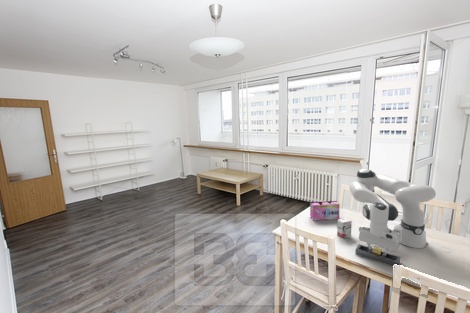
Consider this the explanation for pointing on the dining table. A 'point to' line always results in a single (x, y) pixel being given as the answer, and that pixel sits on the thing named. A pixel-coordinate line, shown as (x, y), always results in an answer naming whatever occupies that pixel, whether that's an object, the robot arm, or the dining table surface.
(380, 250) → the brushed brass bar
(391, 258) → the grey compartment tray
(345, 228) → the ink box
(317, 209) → the gum box
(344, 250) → the dining table surface
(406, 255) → the dining table surface
